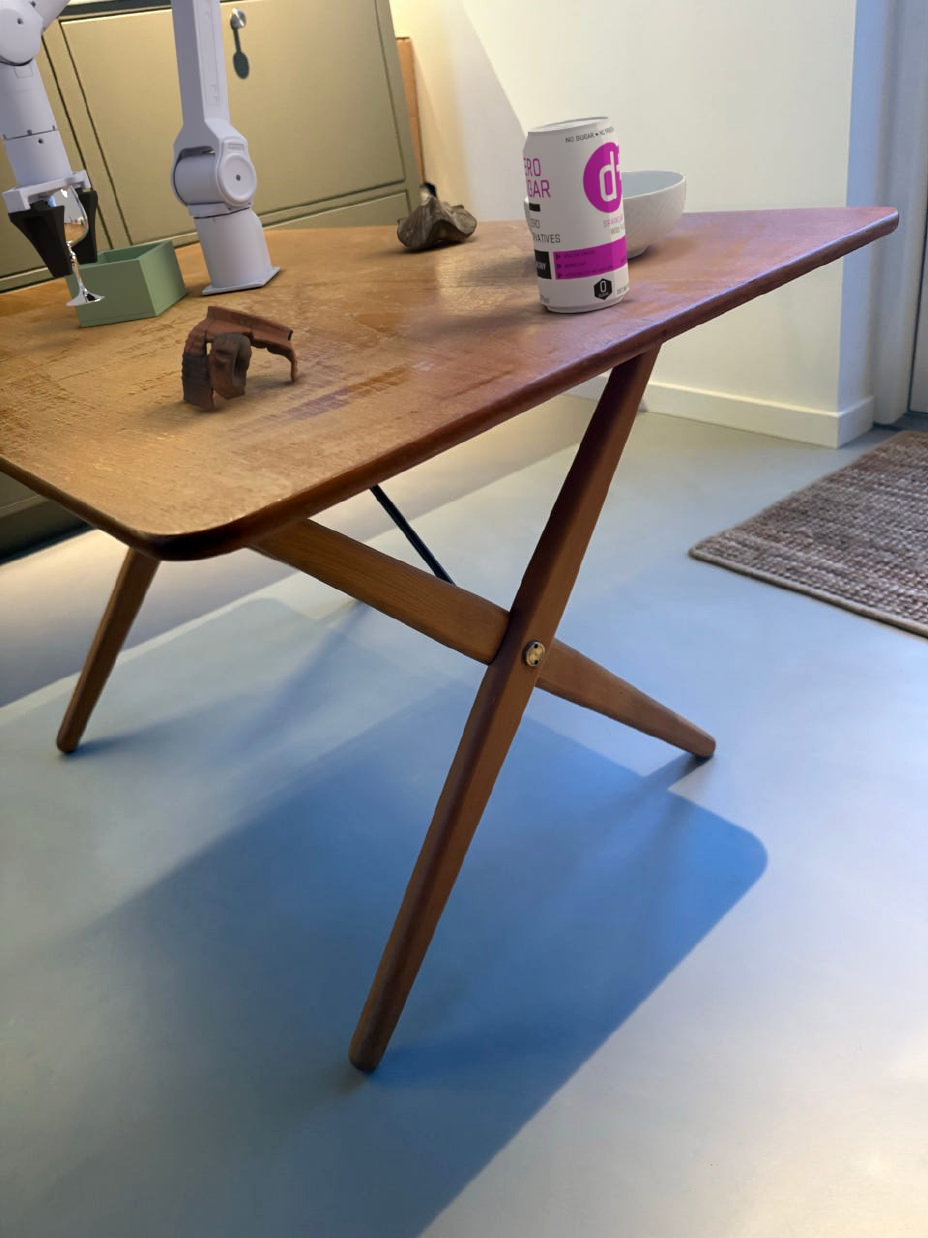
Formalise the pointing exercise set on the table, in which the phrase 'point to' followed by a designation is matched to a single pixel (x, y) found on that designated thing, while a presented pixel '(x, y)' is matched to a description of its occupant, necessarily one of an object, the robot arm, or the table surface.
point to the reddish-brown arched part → (228, 353)
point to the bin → (129, 283)
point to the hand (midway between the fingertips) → (76, 269)
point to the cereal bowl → (646, 206)
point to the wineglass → (73, 234)
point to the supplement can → (577, 214)
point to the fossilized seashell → (435, 224)
